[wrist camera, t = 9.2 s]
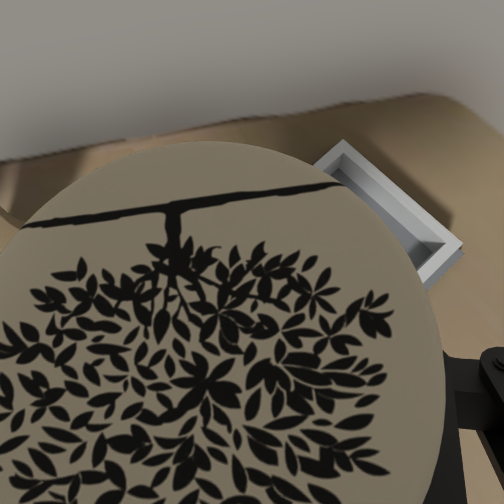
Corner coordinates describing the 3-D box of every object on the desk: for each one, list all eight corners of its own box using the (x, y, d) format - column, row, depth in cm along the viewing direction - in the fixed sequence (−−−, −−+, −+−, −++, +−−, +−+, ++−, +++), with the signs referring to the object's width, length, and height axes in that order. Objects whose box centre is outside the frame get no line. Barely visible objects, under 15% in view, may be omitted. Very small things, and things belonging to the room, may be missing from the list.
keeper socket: (221, 249, 39) (215, 237, 36) (336, 147, 42) (342, 125, 38) (339, 376, 36) (347, 377, 32) (459, 256, 38) (480, 243, 34)
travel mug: (329, 451, 22) (514, 734, 4) (183, 445, 22) (-149, 673, 5) (325, 304, 24) (437, 119, 7) (194, 302, 25) (-9, 127, 7)
